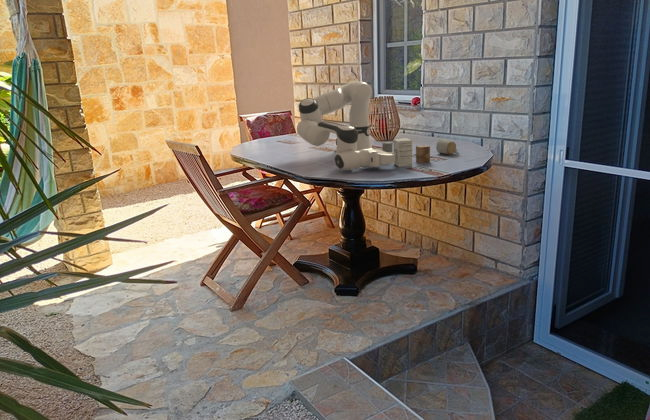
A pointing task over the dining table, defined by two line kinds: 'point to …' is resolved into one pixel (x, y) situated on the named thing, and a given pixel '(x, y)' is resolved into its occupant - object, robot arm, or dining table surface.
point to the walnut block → (423, 154)
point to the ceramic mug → (446, 147)
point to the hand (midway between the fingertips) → (394, 154)
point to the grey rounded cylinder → (387, 146)
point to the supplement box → (403, 152)
